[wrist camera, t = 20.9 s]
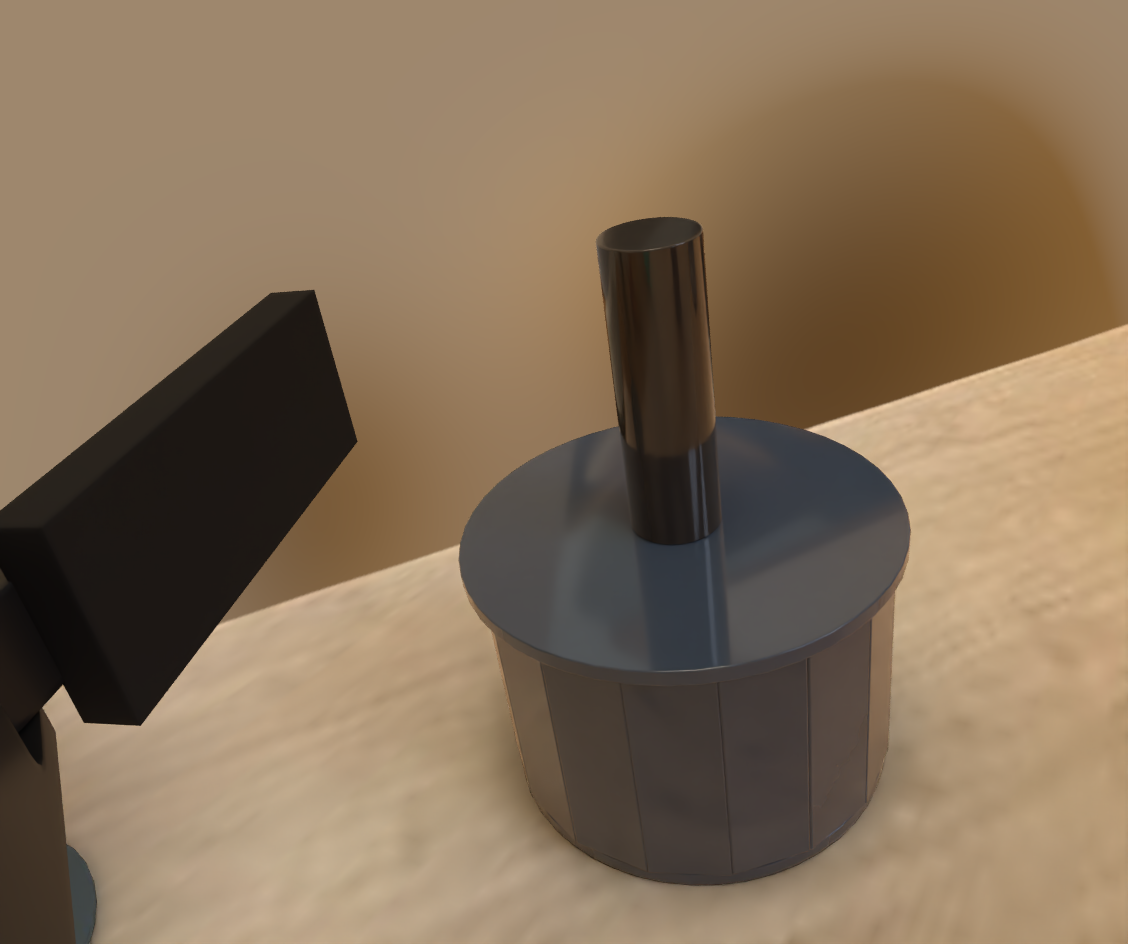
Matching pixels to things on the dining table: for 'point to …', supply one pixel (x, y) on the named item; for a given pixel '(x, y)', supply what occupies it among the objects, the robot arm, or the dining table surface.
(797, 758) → the canister
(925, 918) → the dining table surface
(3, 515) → the robot arm
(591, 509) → the lid
